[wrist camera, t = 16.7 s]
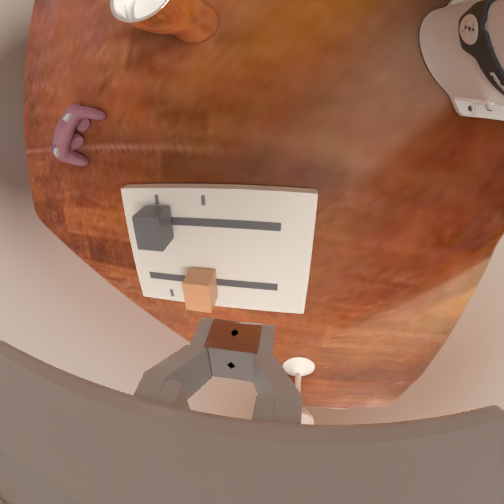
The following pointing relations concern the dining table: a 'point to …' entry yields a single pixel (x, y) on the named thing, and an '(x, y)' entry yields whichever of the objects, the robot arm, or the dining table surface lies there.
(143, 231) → the block
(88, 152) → the dining table surface
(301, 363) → the champagne flute
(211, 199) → the fader panel
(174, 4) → the beer glass
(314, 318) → the dining table surface
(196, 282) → the block
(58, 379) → the robot arm
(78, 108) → the video game controller
